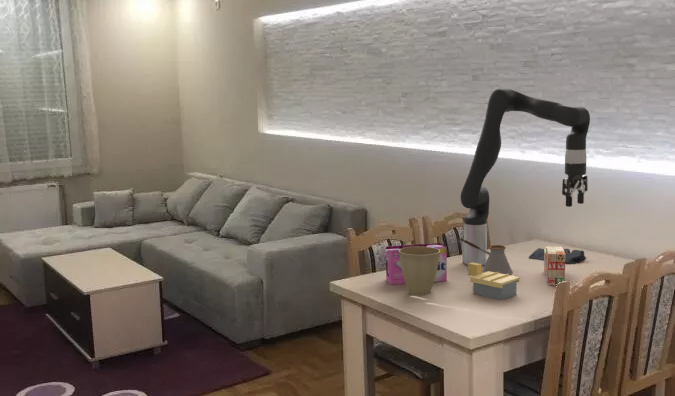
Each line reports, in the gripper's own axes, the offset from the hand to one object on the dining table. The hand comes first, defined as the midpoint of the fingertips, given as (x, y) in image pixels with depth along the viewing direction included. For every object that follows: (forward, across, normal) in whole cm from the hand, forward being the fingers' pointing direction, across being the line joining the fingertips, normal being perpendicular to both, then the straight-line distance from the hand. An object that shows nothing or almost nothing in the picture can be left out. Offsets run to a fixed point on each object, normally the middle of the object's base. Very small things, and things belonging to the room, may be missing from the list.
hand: (574, 205), depth 266 cm
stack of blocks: (+30, 0, -8) cm, 31 cm away
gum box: (+30, +37, -46) cm, 66 cm away
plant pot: (+30, +50, -33) cm, 67 cm away
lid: (+24, +35, -13) cm, 45 cm away
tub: (+29, +35, -11) cm, 47 cm away
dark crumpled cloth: (+30, -30, -24) cm, 49 cm away
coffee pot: (+30, +17, -28) cm, 44 cm away
